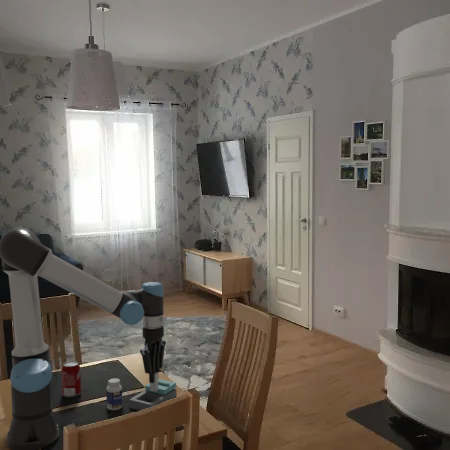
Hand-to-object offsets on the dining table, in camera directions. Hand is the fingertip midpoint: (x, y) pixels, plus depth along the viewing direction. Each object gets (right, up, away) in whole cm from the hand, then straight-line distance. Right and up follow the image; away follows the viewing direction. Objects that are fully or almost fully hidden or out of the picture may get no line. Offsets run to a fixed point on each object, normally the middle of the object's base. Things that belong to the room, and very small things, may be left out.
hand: (154, 390), depth 184 cm
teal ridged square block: (+2, -1, +4) cm, 5 cm away
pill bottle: (-13, -5, -3) cm, 15 cm away
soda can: (-32, -4, +7) cm, 33 cm away
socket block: (0, -5, 0) cm, 5 cm away
